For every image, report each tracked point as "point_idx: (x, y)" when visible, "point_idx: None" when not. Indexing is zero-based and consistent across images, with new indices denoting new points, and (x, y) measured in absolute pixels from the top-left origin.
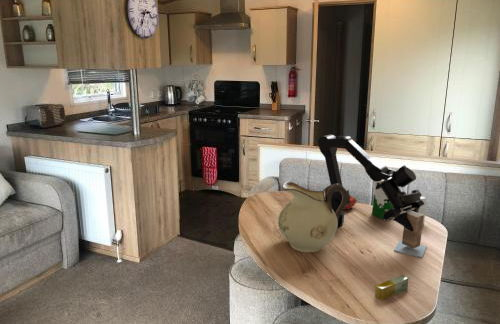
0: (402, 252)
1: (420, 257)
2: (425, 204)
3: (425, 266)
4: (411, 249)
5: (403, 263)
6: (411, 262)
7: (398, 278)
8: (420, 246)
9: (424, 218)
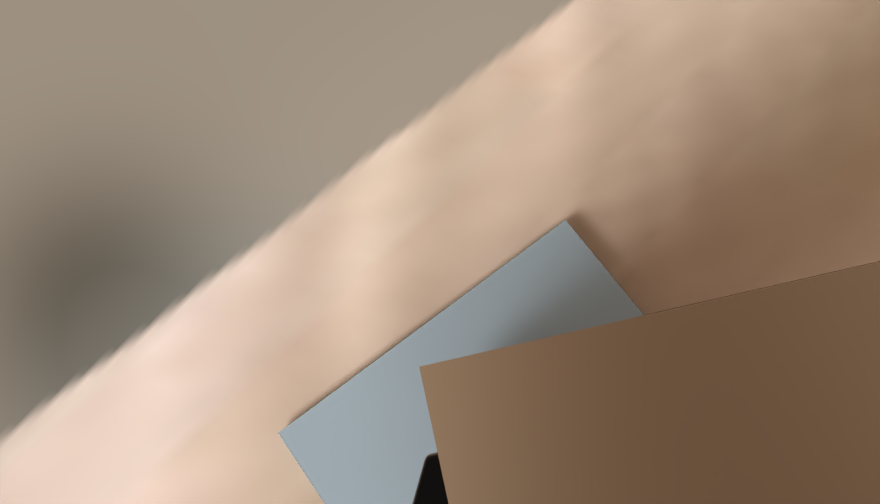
0: None
1: (577, 240)
2: None
3: (665, 75)
4: None
5: (868, 210)
6: (759, 194)
7: None
8: (369, 457)
9: None
